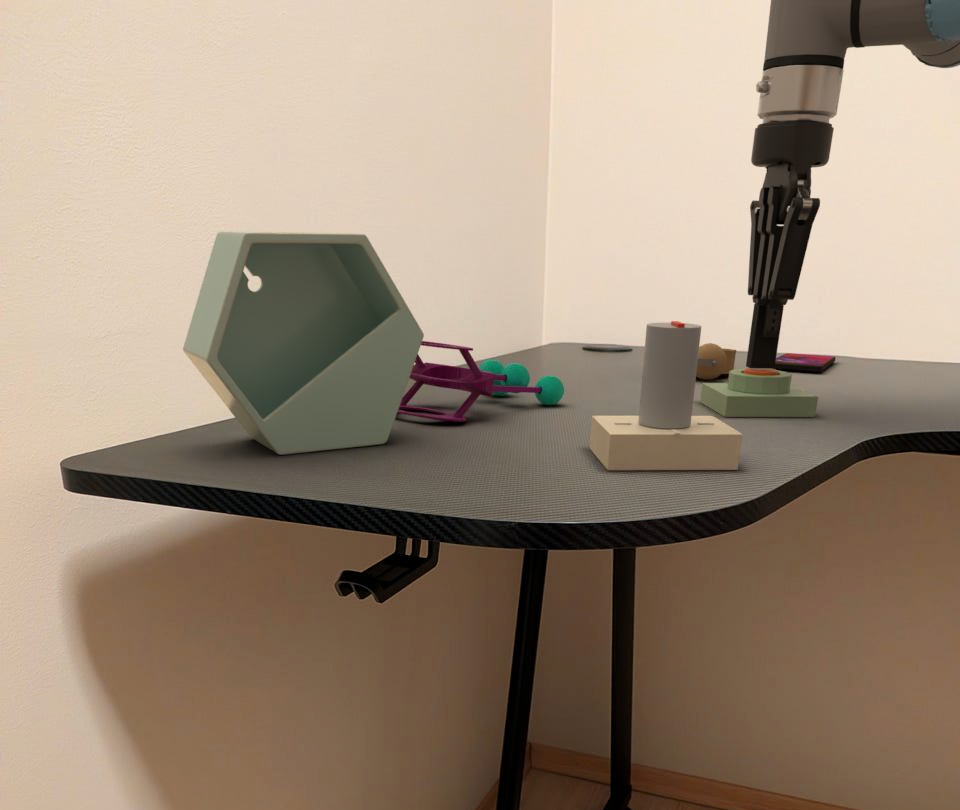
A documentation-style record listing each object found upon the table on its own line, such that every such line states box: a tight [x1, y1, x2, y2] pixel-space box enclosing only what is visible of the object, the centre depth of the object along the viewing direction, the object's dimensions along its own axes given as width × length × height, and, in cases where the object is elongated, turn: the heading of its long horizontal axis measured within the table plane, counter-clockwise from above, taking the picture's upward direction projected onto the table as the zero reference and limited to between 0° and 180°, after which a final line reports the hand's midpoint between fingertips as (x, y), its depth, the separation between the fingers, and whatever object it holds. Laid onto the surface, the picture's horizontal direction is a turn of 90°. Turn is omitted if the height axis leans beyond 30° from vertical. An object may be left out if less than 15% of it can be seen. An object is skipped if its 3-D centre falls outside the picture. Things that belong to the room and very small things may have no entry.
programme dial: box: [638, 320, 702, 429], centre depth 76 cm, size 4×4×8 cm
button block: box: [699, 368, 819, 418], centre depth 101 cm, size 10×9×4 cm
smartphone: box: [774, 353, 837, 372], centre depth 136 cm, size 8×1×15 cm
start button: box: [743, 367, 779, 376], centre depth 100 cm, size 4×4×2 cm
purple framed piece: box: [397, 340, 565, 423], centre depth 98 cm, size 12×20×7 cm, turn 134°
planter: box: [182, 231, 425, 456], centre depth 79 cm, size 17×8×21 cm
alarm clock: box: [696, 342, 738, 381], centre depth 124 cm, size 11×5×15 cm
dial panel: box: [589, 415, 743, 471], centre depth 78 cm, size 11×9×3 cm
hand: (760, 367), depth 100 cm, fingers closed
